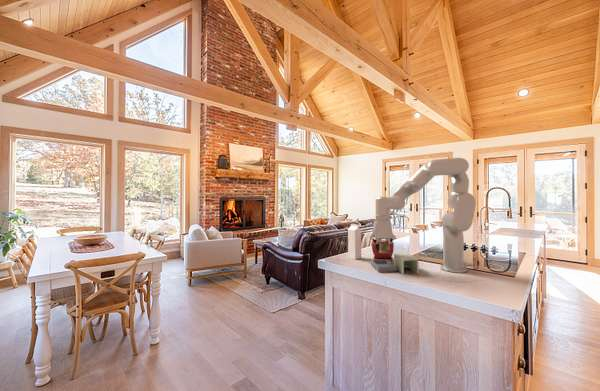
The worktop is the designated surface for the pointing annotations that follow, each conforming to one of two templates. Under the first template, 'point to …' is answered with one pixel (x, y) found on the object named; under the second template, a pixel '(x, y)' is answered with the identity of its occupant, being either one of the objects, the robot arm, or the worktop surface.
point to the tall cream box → (406, 262)
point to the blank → (384, 247)
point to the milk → (354, 242)
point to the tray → (383, 266)
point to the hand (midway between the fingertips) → (382, 250)
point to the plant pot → (382, 255)
